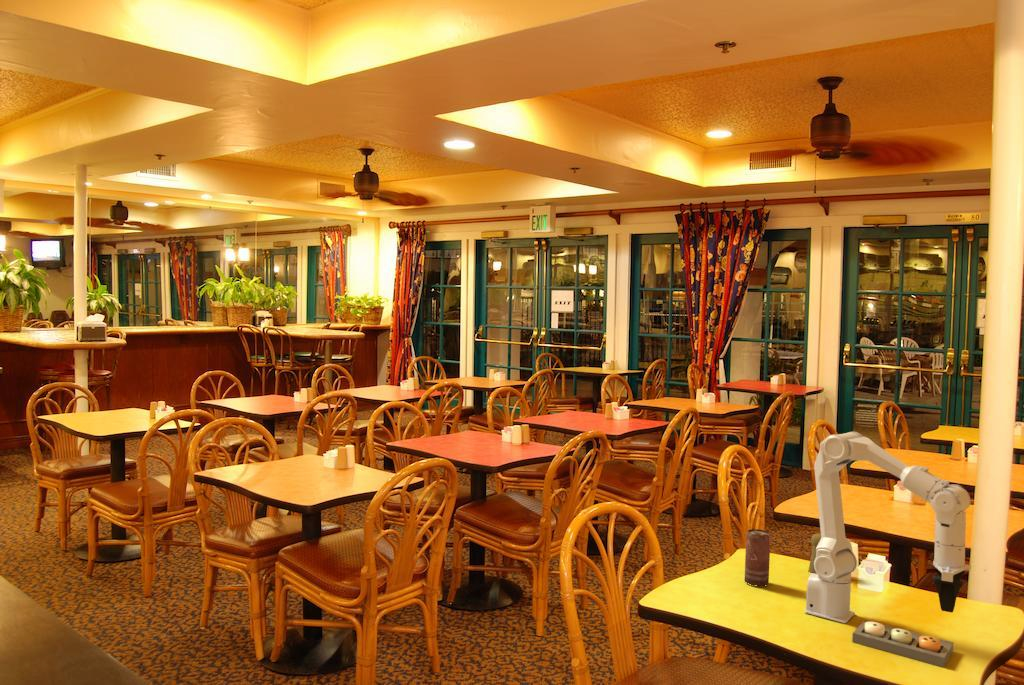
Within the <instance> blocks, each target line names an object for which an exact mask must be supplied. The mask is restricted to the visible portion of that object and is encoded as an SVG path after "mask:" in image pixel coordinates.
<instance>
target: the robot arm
mask: <svg viewBox="0 0 1024 685" xmlns="http://www.w3.org/2000/svg"><path fill="white" fill-rule="evenodd" d="M852 461H867V462H869V463H872V464H873V465H875V466H876V467H879V468H880V469H882V470H884V471H885V472H888V473H889V474H890V475H892V476H895V477H896V478H899V479H900V483H901V485H902V487H903V488H905V489H906V490H908V491H909V492H911V493H913V494H914V495H915V496H917V497H919V498H920V499H922V500H924V501H926V502H927V503H928V504H930V505H931V508H932V510H934V513H935V516H934V518H935V519H934V549H933V550H934V555H933V556H934V559H933V561H932V565H933V566H934V567H935V570H936V572H937V574H938V575H934V574H933V575H932V582H933V584H934V586H935V588H936V591H937V593H938V600H939V606H940V609H941V611H942V612H945V613H946V612H947V613H952V614H953V613H954V610H955V607H956V602H957V597H958V595H959V592H960V590H961V589H962V586H963V585H964V581H962V580H961V579H962V577H963V575H964V574H965V572H966V571H971V570H972V565H971V564H967V563H966V560H965V559H966V531H967V530H966V529H967V528H966V527H967V526H966V524H967V523H966V521H967V519H966V518H967V517H966V516H967V515H966V514H967V513H966V510H968V508H970V505H971V500H972V499H971V496H970V494H969V492H968V491H967V490H966V489H965V488H963V486H961V485H960V484H950V481H949V480H947V479H942V478H940V477H938V476H936V475H934V473H931V472H930V471H929V470H930V469H929V468H928V467H927V466H925V465H923V466H919V465H917V464H916V465H912V466H909V465H907V464H906V463H905V462H903V461H902V460H900V459H898V458H897V457H896V456H894V455H893V454H891V453H889V452H888V451H887V450H886V449H884V448H882V447H881V446H879V445H878V444H876V443H875V442H874V441H872V439H870V438H869V437H867V436H863V434H861V433H859V432H857V431H849V432H846V433H845V432H844V433H838V434H830V435H828V436H826V438H824V440H822V441H821V442H820V443H819V451H818V454H817V456H816V457H815V461H814V467H813V468H814V475H815V476H814V478H815V487H816V500H817V507H818V518H819V528H820V529H819V530H820V534H821V540H820V542H819V543H818V545H817V547H816V558H815V560H814V569H815V571H816V573H817V574H815V573H812V574H809V576H808V578H807V585H806V602H805V610H804V613H805V614H808V615H813V616H815V617H819V618H823V619H828V620H831V621H834V622H838V623H842V624H846V623H848V621H849V620H850V619H852V618H853V616H855V614H856V611H853V610H851V607H850V606H851V594H852V593H851V591H852V590H851V589H852V588H851V587H852V573H853V572H854V571H855V570H856V569H857V566H858V559H857V557H856V554H855V553H854V551H853V548H852V543H851V542H850V540H848V538H847V537H846V529H845V528H846V527H845V521H844V520H845V518H844V510H843V500H842V499H843V498H842V490H841V489H842V488H841V480H840V471H841V470H842V469H843V468H845V466H846V465H847V464H849V463H850V462H852Z"/></svg>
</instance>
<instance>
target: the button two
mask: <svg viewBox="0 0 1024 685" xmlns="http://www.w3.org/2000/svg"><path fill="white" fill-rule="evenodd" d="M909 631H910V630H908V631H907V629H904V628H900V629H892V633H891V640H892V641H895V642H899V643H903V644H906V645H911V644H912V633H911V632H909Z"/></svg>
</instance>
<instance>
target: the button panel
mask: <svg viewBox="0 0 1024 685" xmlns="http://www.w3.org/2000/svg"><path fill="white" fill-rule="evenodd" d="M866 622H874V621H872V620H868V619H864V620H863V621H862V622H861V624H859V625H858V627H857V628H855V630H854V631H853V632H852V638H851V640H852V642H851V643H855V644H859V645H862V646H865V647H866V646H867V647H870V648H872V649H877V650H879V651H884V652H888V653H891V654H894V655H897V656H902V657H905V658H909V659H912V660H916V661H918V662H919V661H920V662H923V663H926V664H927V663H928V664H931V665H934V666H937V665H938V667H941V668H945V667H946V664H947V663H948V661H949V659H950V658H951V656H952V654H953V652H954V642H955V641H951V640H950V641H949V640H946V639H943V638H938V637H934V636H933V637H934V638H937V639H939V640H940V641H941V645H940V653H936V652H932V651H929V650H925V649H921V648H919V637H920V636H928V634H927V635H926V634H922V633H919V632H916V631H910V630H907V629H906V630H907V631H909V632H911V633H912V644H911V645H906V644H903V643H899V642H895V641H892V640H891V633H892V629H901V628H899V627H895V626H892V625H888V624H884V623H880V622H879V623H880V624H882V625H884V626H885V632H884V637H883V638H880V637H877V636H873V635H869V634H866V633H864V632H865V623H866Z"/></svg>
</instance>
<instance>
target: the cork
mask: <svg viewBox="0 0 1024 685" xmlns="http://www.w3.org/2000/svg"><path fill="white" fill-rule="evenodd" d="M810 540H811V545H812V549H811V555H810V560H809V566H808V569H807V571H808V572H810V573H815V574H817V573H816V571H815V569H814V560H815V558H816V547H817V545H818V543H819V542H820V540H821V533H813V535H812V536H811V538H810Z"/></svg>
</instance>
